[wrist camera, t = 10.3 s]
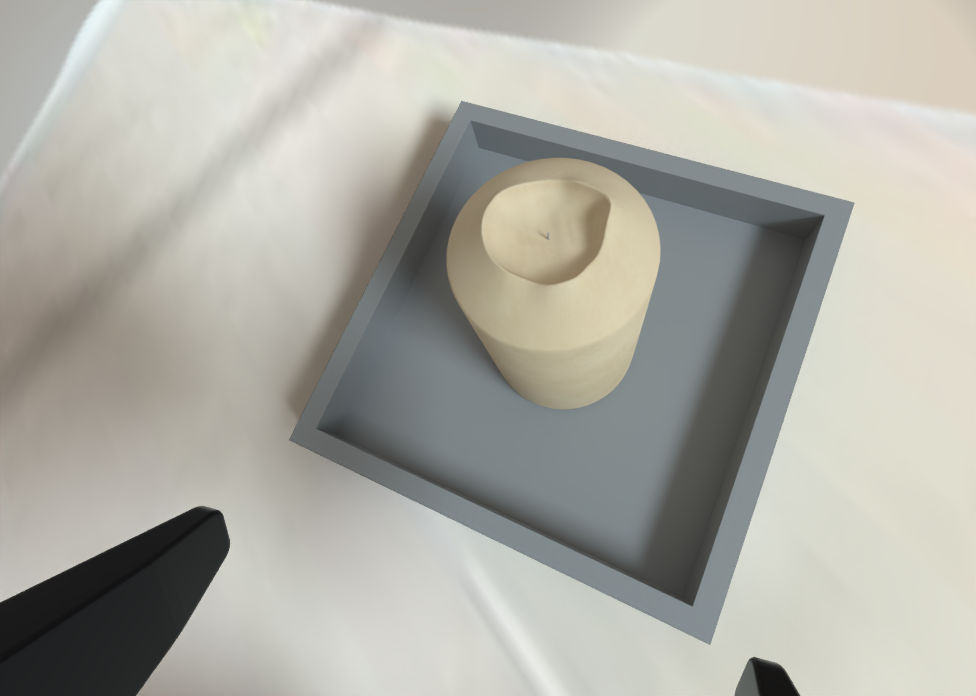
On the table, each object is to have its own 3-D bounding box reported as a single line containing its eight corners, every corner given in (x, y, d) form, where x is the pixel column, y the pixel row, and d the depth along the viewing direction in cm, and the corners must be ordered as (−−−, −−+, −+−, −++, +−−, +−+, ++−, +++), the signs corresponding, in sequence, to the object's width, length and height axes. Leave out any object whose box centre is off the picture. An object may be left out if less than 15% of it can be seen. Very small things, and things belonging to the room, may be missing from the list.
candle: (612, 266, 23) (631, 95, 14) (650, 393, 21) (701, 299, 12) (484, 298, 24) (415, 155, 14) (510, 425, 22) (453, 360, 12)
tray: (695, 628, 19) (710, 644, 17) (318, 447, 24) (288, 439, 21) (826, 235, 22) (854, 202, 20) (472, 137, 27) (461, 101, 24)
